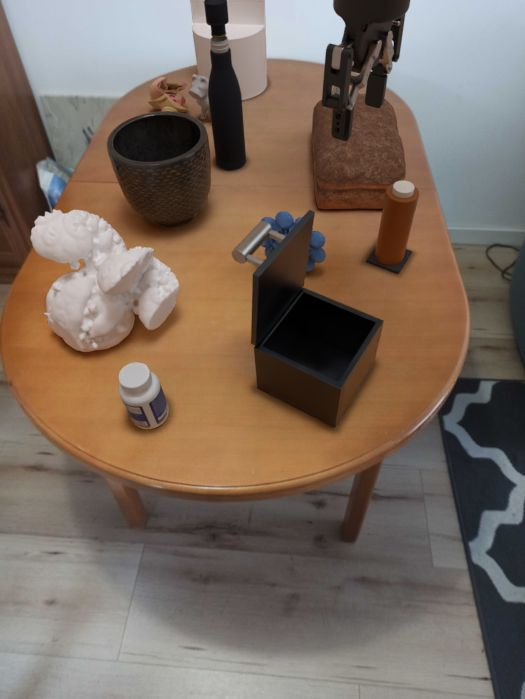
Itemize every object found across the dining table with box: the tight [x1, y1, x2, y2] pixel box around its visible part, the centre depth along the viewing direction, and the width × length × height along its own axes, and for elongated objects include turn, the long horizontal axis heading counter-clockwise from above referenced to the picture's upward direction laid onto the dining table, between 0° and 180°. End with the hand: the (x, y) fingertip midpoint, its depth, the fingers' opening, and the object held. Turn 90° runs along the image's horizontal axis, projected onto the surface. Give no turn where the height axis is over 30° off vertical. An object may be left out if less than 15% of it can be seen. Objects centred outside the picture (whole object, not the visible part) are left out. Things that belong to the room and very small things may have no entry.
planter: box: [106, 110, 212, 229], centre depth 92 cm, size 17×17×16 cm
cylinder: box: [189, 0, 268, 101], centre depth 118 cm, size 17×17×28 cm
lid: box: [231, 209, 316, 346], centre depth 63 cm, size 13×13×6 cm
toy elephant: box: [146, 76, 189, 113], centre depth 119 cm, size 9×10×10 cm
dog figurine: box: [187, 73, 210, 120], centre depth 116 cm, size 5×13×11 cm, turn 144°
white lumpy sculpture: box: [29, 208, 180, 353], centre depth 78 cm, size 19×20×20 cm
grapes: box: [260, 210, 327, 273], centre depth 82 cm, size 12×7×12 cm, turn 80°
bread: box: [311, 93, 407, 210], centre depth 101 cm, size 17×29×11 cm, turn 178°
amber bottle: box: [374, 179, 420, 265], centre depth 83 cm, size 5×5×14 cm
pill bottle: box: [117, 361, 170, 430], centre depth 67 cm, size 5×5×10 cm
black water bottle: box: [204, 0, 247, 171], centre depth 96 cm, size 6×6×30 cm
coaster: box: [365, 246, 413, 275], centre depth 88 cm, size 6×6×1 cm
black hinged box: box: [253, 286, 385, 429], centre depth 70 cm, size 13×13×10 cm
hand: (357, 121), depth 60 cm, fingers open, 8 cm apart
